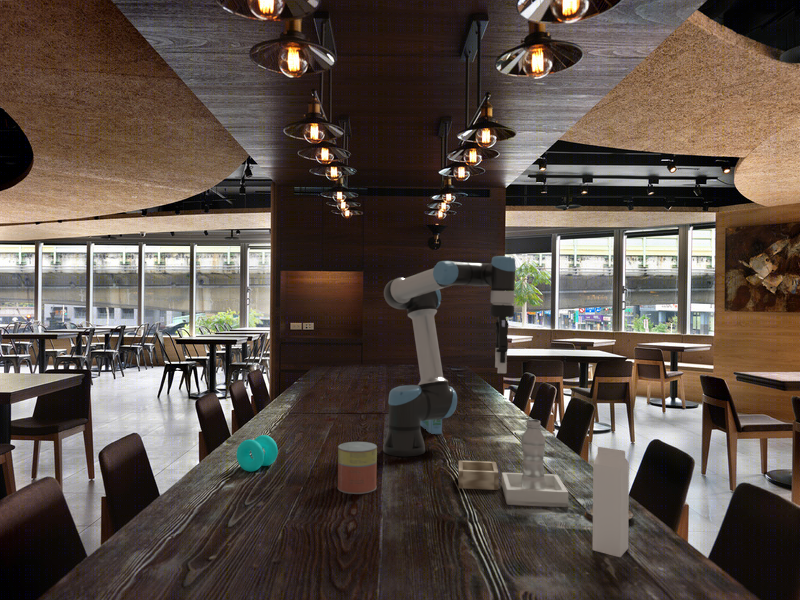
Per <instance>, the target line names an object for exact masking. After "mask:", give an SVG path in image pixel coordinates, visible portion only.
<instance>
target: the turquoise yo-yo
mask: <svg viewBox="0 0 800 600" xmlns="http://www.w3.org/2000/svg"><path fill="white" fill-rule="evenodd" d="M278 452H279V451H278V445H277V442H276V441H275V440H274V438H272V437H271V436H269V435H267V434H262V435H261V434H260V435H259V436H257V437H256V438H255V439H246V440H243V441H242V442H241V443H240V444H239V445H238V447H237V449H236V460H237V463H238V465H239V467H240V468H241V469H242V470H244V471H246V472H250V473H252V472H256V471H257V470H259V469H260V468H261V467H268V466H271V465H272V464H274V463H275V461H276V460H277V457H278Z"/></svg>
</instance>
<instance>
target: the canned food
mask: <svg viewBox="0 0 800 600" xmlns="http://www.w3.org/2000/svg"><path fill="white" fill-rule="evenodd" d="M337 448H338V450H337V451H338V453H337V457H338V458H337V460H338V461H337V462H338V463H337V465H338V466H337V490H338V491H340V492H342V493H344V494H349V495H353V494H354V495H362V494H369V493H372V492H374V491H375V490H377V468H378V467H377V465H378V464H377V460H378V459H377V457H378V456H377V455H378V454H377V453H378V451H377V450H378V446H377V444H376V443H373V442H369V441H368V442H367V441H348V442H343V443H340V444H339V445H337Z"/></svg>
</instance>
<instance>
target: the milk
mask: <svg viewBox="0 0 800 600" xmlns="http://www.w3.org/2000/svg"><path fill="white" fill-rule="evenodd" d="M592 465H593V466H592V467H593V469H592V470H593V471H592V472H593V474H592V477H593V478H592V480H593V481H592V504H593V521H592V551H595V552H598V553H602V554H606V555H610V556H612V557H613V556H614V557H616V558H621V557H622V556H623V555H624V554H626V552H627V550H628V549H629V520H628V514H629V510H630V508H629V499H630V498H629V495H630V494H629V493H630V491H629V489H630V488H629V487H630V484H629V483H630V472H629V471H630V462H629V461H628V459H627V458H626V451H625V450H622V449H618V448H617V449H616V448H611V447H603V446H598V447H597V454H596V456H595V459H594V460H593V464H592Z"/></svg>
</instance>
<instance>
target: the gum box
mask: <svg viewBox="0 0 800 600" xmlns="http://www.w3.org/2000/svg"><path fill="white" fill-rule="evenodd" d="M420 427H422V428H423V429H424V430H425V429H426V431H427V432H428V433H429V434H430V433H431V434H435V435H442V434H443V419H433V420H424V421H421V424H420ZM431 434H430V435H431Z"/></svg>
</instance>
